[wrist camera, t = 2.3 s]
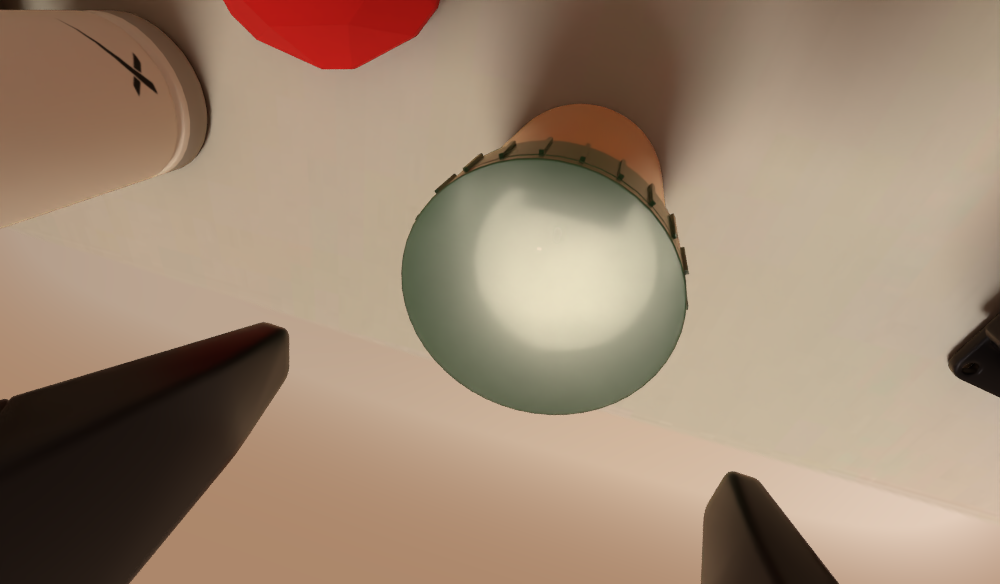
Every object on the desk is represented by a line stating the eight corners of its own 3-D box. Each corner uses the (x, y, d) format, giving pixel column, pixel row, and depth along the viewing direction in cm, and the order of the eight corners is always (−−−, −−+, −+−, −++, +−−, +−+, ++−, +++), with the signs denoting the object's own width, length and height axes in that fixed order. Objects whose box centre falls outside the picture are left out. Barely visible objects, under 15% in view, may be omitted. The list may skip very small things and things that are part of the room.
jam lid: (742, 212, 12) (756, 242, 10) (605, 411, 15) (601, 456, 14) (473, 88, 12) (448, 99, 10) (397, 312, 15) (369, 346, 14)
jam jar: (695, 147, 18) (731, 241, 11) (613, 286, 21) (597, 433, 14) (536, 74, 18) (463, 116, 11) (477, 222, 21) (389, 334, 14)
